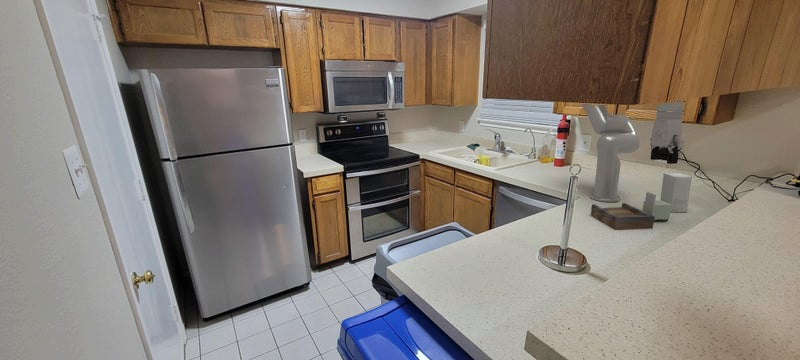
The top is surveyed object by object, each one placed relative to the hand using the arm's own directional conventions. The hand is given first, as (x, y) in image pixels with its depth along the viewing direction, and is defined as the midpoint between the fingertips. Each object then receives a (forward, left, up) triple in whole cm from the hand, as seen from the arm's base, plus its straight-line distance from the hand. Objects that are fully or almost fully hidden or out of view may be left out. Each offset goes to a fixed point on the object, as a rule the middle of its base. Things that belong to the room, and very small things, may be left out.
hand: (663, 161), depth 122 cm
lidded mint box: (0, 0, -24) cm, 24 cm away
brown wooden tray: (0, -14, -24) cm, 27 cm away
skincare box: (-11, +16, -24) cm, 31 cm away
